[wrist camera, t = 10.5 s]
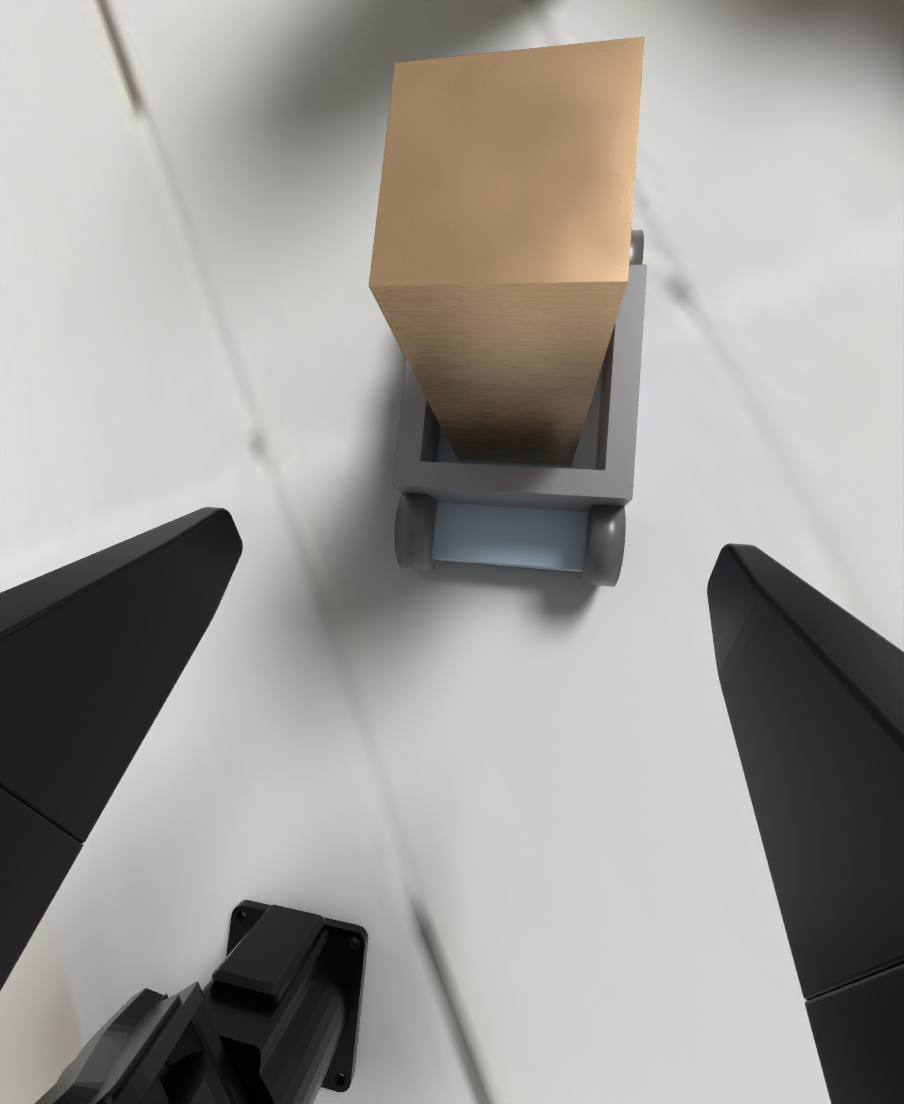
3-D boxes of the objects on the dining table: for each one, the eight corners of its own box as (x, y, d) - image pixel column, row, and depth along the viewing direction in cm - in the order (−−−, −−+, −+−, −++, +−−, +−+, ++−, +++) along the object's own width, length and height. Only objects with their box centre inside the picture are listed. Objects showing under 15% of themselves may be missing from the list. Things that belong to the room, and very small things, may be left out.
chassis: (606, 587, 21) (627, 584, 17) (412, 570, 23) (384, 563, 18) (627, 269, 22) (651, 188, 18) (443, 273, 24) (423, 200, 20)
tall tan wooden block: (571, 465, 20) (627, 281, 9) (458, 460, 21) (369, 286, 9) (579, 355, 21) (644, 36, 9) (468, 354, 22) (394, 62, 10)
